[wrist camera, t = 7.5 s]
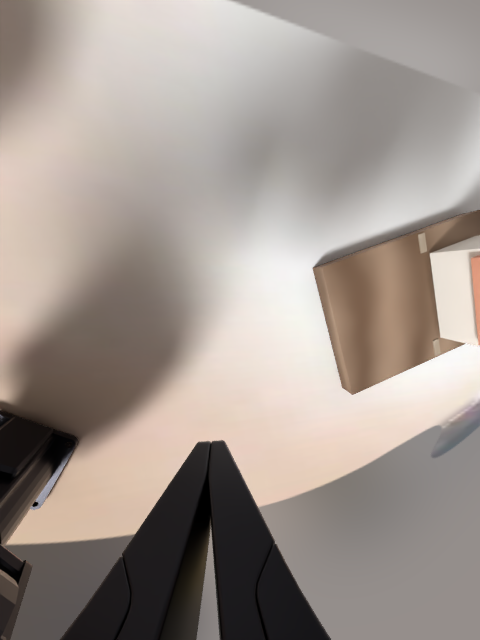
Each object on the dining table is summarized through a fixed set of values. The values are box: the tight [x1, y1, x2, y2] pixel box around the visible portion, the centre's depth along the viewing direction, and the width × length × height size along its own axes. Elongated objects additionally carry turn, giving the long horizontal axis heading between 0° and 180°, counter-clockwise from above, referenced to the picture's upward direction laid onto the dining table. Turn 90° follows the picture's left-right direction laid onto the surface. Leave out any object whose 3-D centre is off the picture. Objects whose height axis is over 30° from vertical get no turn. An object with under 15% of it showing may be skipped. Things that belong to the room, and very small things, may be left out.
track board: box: [313, 210, 480, 395], centre depth 22 cm, size 16×12×2 cm
